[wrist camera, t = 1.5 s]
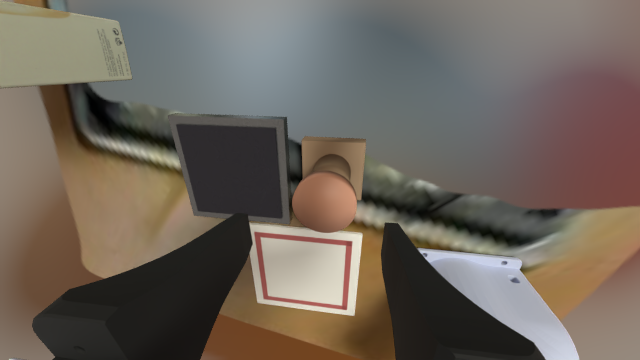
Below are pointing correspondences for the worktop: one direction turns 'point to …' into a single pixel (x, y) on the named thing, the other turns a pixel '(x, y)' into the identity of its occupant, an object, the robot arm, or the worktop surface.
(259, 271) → the marked sheet
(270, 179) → the ink pad
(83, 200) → the worktop surface
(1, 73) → the skincare box
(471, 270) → the robot arm
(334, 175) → the stamp
